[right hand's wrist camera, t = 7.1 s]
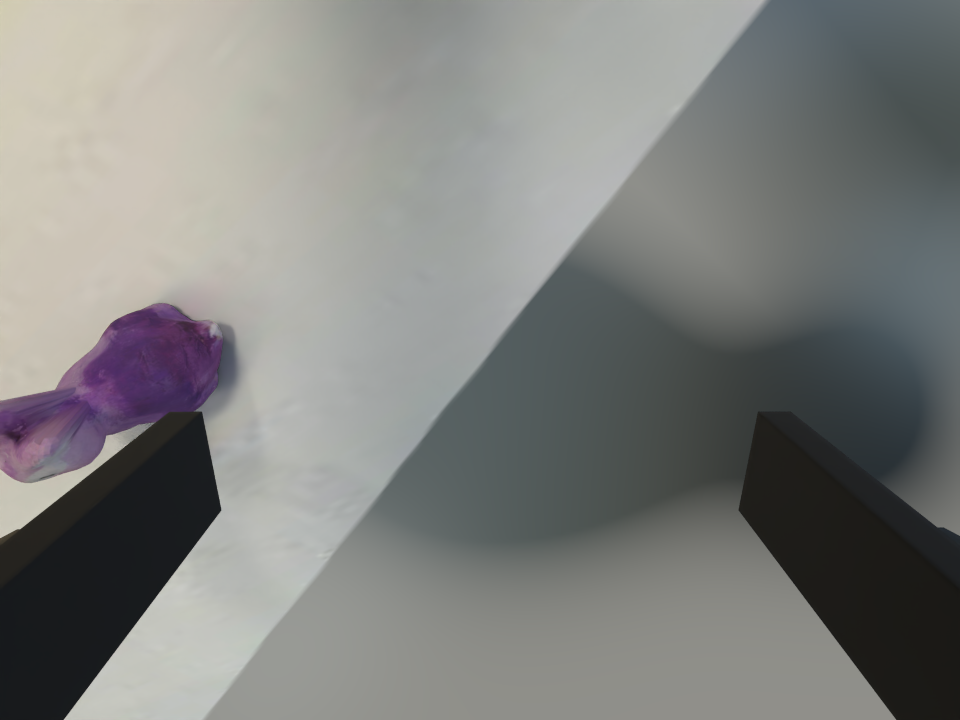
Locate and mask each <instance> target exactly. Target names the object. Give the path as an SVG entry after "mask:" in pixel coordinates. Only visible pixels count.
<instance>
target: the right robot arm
mask: <svg viewBox="0 0 960 720" xmlns="http://www.w3.org/2000/svg"><path fill="white" fill-rule="evenodd" d="M220 511H221V506H220V500H219V495H218V490H217V485H216V480H215V475H214V470H213V465H212V460H211V455H210V450H209V445H208V440H207V435H206V430H205V425H204V419H203V414H202V412H168V413H167V414H166V415H165V416H163V417H162V418H161V419H160V420H158V421H157V422H156V423H155V424H153V425H152V426H151V427H149V428H148V429H147V430H146V431H144V432H143V433H142V434H141V435H139V436H138V437H137V438H136V439H134V440H133V441H132V442H130V443H129V444H128V445H127V446H125V447H124V448H123V449H122V450H120V451H119V452H118V453H117V454H115V455H114V456H113V457H111V458H110V459H109V460H108V461H106V462H105V463H104V464H103V465H101V466H100V467H99V468H97V469H96V470H95V471H94V472H92V473H91V474H90V475H89V476H87V477H86V478H85V479H84V480H82V481H81V482H80V483H78V484H77V485H76V486H75V487H73V488H72V489H71V490H70V491H68V492H67V493H66V494H65V495H63V496H62V497H61V498H59V499H58V500H57V501H56V502H54V503H53V504H52V505H51V506H49V507H48V508H47V509H46V510H44V511H43V512H42V513H40V514H39V515H38V516H37V517H35V518H34V519H33V520H32V521H30V522H29V523H28V524H27V525H25V526H24V527H23V528H21V529H17V530H15V531H13V532H11V533H10V534H8V535H6V536H4V537H2V538H0V720H64V719H65V717H66V716H67V715H68V713H69V712H70V711H71V709H72V708H73V707H74V705H75V704H76V703H77V701H78V700H79V699H80V697H81V696H82V695H83V693H84V692H85V691H86V689H87V688H88V687H89V685H90V684H91V683H92V681H93V680H94V679H95V677H96V676H97V675H98V673H99V672H100V671H101V669H102V668H103V667H104V665H105V664H106V663H107V661H108V660H109V659H110V657H111V656H112V655H113V653H114V652H115V651H116V649H117V648H118V647H119V645H120V644H121V643H122V642H123V640H124V639H125V638H126V636H127V635H128V634H129V632H130V631H131V630H132V628H133V627H134V626H135V624H136V623H137V622H138V620H139V619H140V618H141V616H142V615H143V614H144V612H145V611H146V610H147V608H148V607H149V606H150V604H151V603H152V602H153V600H154V599H155V598H156V596H157V595H158V594H159V592H160V591H161V590H162V588H163V587H164V586H165V584H166V583H167V582H168V580H169V579H170V578H171V576H172V575H173V574H174V572H175V571H176V570H177V568H178V567H179V566H180V564H181V563H182V562H183V561H184V559H185V558H186V557H187V555H188V554H189V553H190V551H191V550H192V549H193V547H194V546H195V545H196V543H197V542H198V541H199V539H200V538H201V537H202V535H203V534H204V533H205V531H206V530H207V529H208V527H209V526H210V525H211V523H212V522H213V521H214V519H215V518H216V517H217V515H218V514H219V513H220ZM739 511H740V513H741V514H742V515H743V517H744V518H745V519H746V521H747V522H748V523H749V525H750V526H751V527H752V529H753V530H754V531H755V533H756V534H757V535H758V537H759V538H760V539H761V541H762V542H763V543H764V545H765V546H766V547H767V549H768V550H769V551H770V553H771V554H772V555H773V557H774V558H775V559H776V561H777V562H778V563H779V564H780V566H781V567H782V568H783V570H784V571H785V572H786V574H787V575H788V576H789V578H790V579H791V580H792V582H793V583H794V584H795V586H796V587H797V588H798V590H799V591H800V592H801V594H802V595H803V596H804V598H805V599H806V600H807V602H808V603H809V604H810V606H811V607H812V608H813V610H814V611H815V612H816V614H817V615H818V616H819V618H820V619H821V620H822V622H823V623H824V624H825V626H826V627H827V628H828V630H829V631H830V632H831V634H832V635H833V636H834V638H835V639H836V640H837V642H838V643H839V644H840V645H841V647H842V648H843V649H844V651H845V652H846V653H847V655H848V656H849V657H850V659H851V660H852V661H853V663H854V664H855V665H856V667H857V668H858V669H859V671H860V672H861V673H862V675H863V676H864V677H865V679H866V680H867V681H868V683H869V684H870V685H871V687H872V688H873V689H874V691H875V692H876V693H877V695H878V696H879V697H880V699H881V700H882V701H883V703H884V704H885V705H886V707H887V708H888V709H889V711H890V712H891V713H892V714H893V716H894V717H895V719H896V720H960V536H959V535H957V534H955V533H953V532H951V531H949V530H947V529H945V528H937V527H936V526H935V525H933V524H932V523H931V522H930V521H928V520H927V519H926V518H925V517H923V516H922V515H921V514H919V513H918V512H917V511H916V510H914V509H913V508H912V507H911V506H909V505H908V504H907V503H906V502H904V501H903V500H902V499H900V498H899V497H898V496H897V495H895V494H894V493H893V492H892V491H890V490H889V489H888V488H887V487H885V486H884V485H883V484H882V483H880V482H879V481H878V480H876V479H875V478H874V477H873V476H871V475H870V474H869V473H868V472H866V471H865V470H864V469H862V468H861V467H860V466H859V465H857V464H856V463H855V462H854V461H852V460H851V459H850V458H849V457H847V456H846V455H845V454H843V453H842V452H841V451H840V450H838V449H837V448H836V447H835V446H833V445H832V444H831V443H830V442H828V441H827V440H826V439H824V438H823V437H822V436H821V435H819V434H818V433H817V432H816V431H814V430H813V429H812V428H811V427H809V426H808V425H807V424H805V423H804V422H803V421H802V420H800V419H799V418H798V417H797V416H795V415H794V414H793V413H792V412H758V414H757V420H756V425H755V430H754V435H753V440H752V445H751V450H750V455H749V460H748V465H747V470H746V475H745V480H744V485H743V490H742V495H741V500H740V506H739Z"/></svg>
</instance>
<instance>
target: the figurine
mask: <svg viewBox="0 0 960 720" xmlns="http://www.w3.org/2000/svg"><path fill="white" fill-rule="evenodd" d="M222 344H223V336H222V332H221V330H220V328H219V327H218V325H217V324H216V323H215V322H213V321H211V320H205V321H192V320H190V319H189V318H187V317H186V316H183V315H182V314H181V313H180V312H178V310H176V309H175V308H174V307H173V306H171V305H169V304H165V303H161V304H153V305H151V306H148V307H146V308H144V309H142V310H139V311H135V312H132V313H130V314H127V315H125V316H123V317H121V318H118V319H117V320H115V321H114V322H112V323H111V324H110V325H109V327H108V328H107V329H106V330H105V332H104V333H103V335H102V337H101V338H100V340H99V342H98V343H97V345H96V346H95V347H94V348H93V349H92V350H91V351H90V352H89V353H87V354H86V355H85V356H84V357H82V358H81V359H80V360H79V361H77V362H76V363H75V364H74V365H73V366H72V367H71V368H70V369H69V370H68V371H67V372H66V373H65V374H64V375H63V377H62V379H61V380H60V382H59V384H58V386H57V387H56V390H53V391H48V392H43V393H38V394H33V395H28V396H23V397H18V398H13V399H8V400H3V401H0V469H1V470H2V471H3V472H5V473H6V474H7V475H9V476H10V477H12V478H13V479H15V480H17V481H20V482H24V483H34V482H38V481H41V480H45V479H49V478H52V477H55V476H57V475H60V474H63V473H66V472H70V471H74V470H77V469H79V468H82V467H84V466H86V465H88V464H90V463H91V462H92V461H93V460H94V459H95V458H96V457H97V456H98V455H99V453H100V452H101V450H102V448H103V446H104V443H105V439H106V435H111V434H115V433H118V432H121V431H125V430H127V429H130V428H132V427H134V426H137V425H140V424H145V423H151V422H157V421H158V420H160V419H161V418H162V417H163V416H165V415H166V414H167V413H168V412H194V411H195V410H197V409H198V408H199V407H200V406H201V405H202V404H203V403H204V402H205V401H206V399H207V398H208V397H209V396H210V394H211V393H212V392H213V391H214V390H215V388H216V387H217V385H218V373H217V370H218V367H219V364H220V360H221V352H222Z"/></svg>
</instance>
